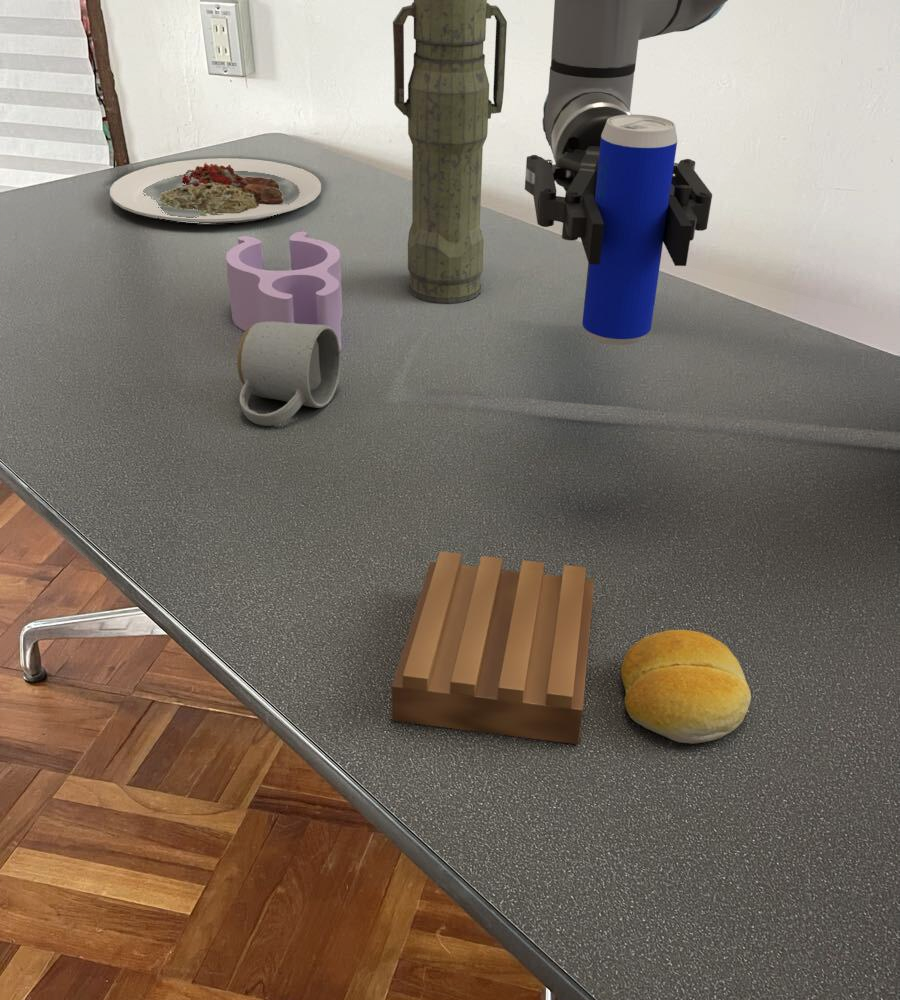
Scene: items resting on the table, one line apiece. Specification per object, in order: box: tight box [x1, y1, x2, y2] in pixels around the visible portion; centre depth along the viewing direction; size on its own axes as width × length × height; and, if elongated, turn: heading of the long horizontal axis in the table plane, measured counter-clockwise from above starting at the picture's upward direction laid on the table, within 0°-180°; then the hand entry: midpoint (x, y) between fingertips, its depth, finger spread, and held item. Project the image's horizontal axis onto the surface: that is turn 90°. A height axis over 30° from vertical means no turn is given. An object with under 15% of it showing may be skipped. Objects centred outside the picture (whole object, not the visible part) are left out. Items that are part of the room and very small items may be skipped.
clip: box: [225, 231, 344, 352], centre depth 118 cm, size 20×12×7 cm, turn 17°
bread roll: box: [620, 629, 752, 744], centre depth 70 cm, size 8×9×4 cm
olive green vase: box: [392, 0, 508, 304], centre depth 119 cm, size 9×12×35 cm
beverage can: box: [581, 114, 678, 346], centre depth 77 cm, size 5×5×15 cm
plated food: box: [109, 157, 322, 224], centre depth 155 cm, size 30×30×3 cm
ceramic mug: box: [236, 322, 342, 427], centre depth 102 cm, size 11×8×8 cm
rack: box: [391, 550, 595, 745], centre depth 73 cm, size 12×14×4 cm
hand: (640, 244), depth 72 cm, fingers closed on beverage can, 5 cm apart
